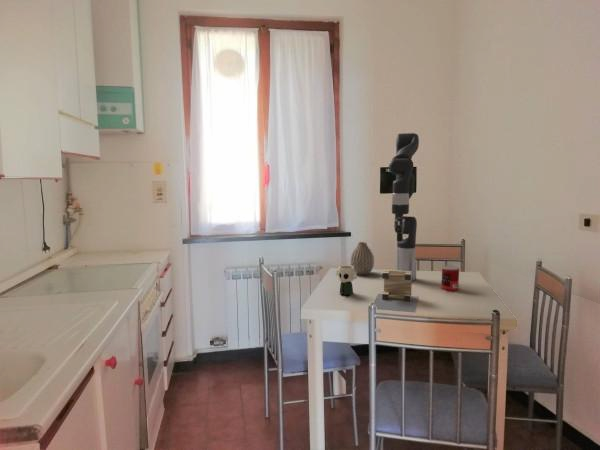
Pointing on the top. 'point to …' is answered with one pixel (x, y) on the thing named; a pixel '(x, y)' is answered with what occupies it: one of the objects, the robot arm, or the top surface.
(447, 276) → the canned food
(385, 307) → the mat
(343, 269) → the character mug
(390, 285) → the stool
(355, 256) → the vase
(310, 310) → the top surface
